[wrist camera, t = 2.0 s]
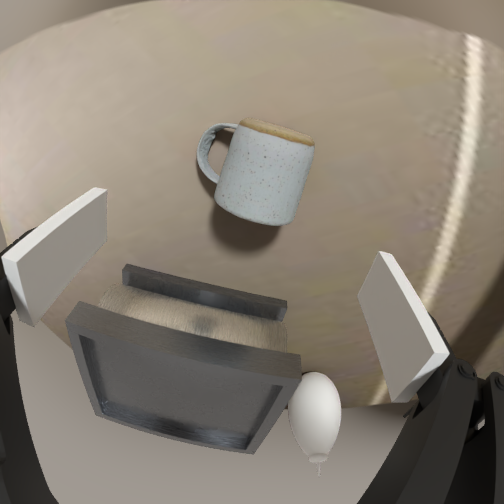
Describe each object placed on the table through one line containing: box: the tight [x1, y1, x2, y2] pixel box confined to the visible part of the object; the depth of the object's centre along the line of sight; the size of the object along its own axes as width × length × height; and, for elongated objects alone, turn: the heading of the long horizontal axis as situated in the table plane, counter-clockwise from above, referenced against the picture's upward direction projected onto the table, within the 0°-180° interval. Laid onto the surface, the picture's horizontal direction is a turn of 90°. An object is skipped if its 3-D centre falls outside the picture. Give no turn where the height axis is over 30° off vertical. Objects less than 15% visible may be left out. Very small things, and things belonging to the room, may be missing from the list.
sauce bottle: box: [288, 372, 341, 477], centre depth 37 cm, size 8×8×18 cm
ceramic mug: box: [197, 118, 315, 226], centre depth 26 cm, size 11×8×8 cm
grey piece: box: [65, 264, 302, 454], centre depth 33 cm, size 21×17×15 cm
